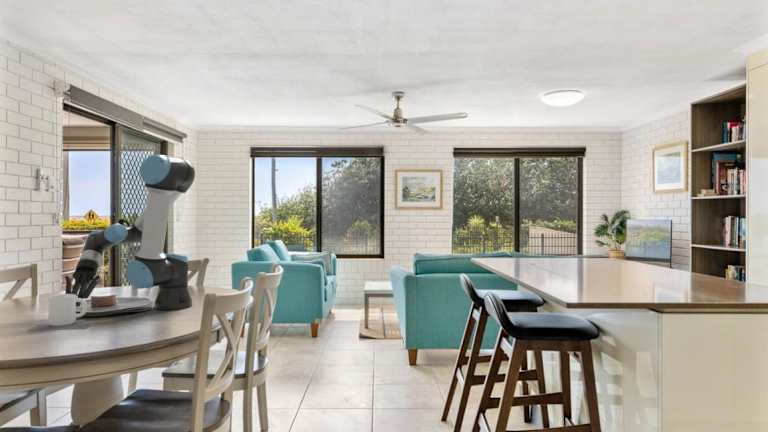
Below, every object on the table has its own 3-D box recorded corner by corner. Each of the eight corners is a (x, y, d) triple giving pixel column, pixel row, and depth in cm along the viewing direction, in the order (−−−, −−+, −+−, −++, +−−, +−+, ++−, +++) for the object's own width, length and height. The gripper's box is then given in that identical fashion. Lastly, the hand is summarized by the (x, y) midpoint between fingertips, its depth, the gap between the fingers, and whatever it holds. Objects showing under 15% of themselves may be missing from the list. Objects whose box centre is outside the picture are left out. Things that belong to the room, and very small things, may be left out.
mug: (86, 318, 184) (86, 291, 184) (88, 322, 178) (88, 295, 177) (48, 322, 177) (48, 295, 177) (49, 327, 170) (49, 299, 170)
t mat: (101, 320, 183) (101, 319, 183) (86, 329, 170) (86, 328, 170) (46, 322, 180) (46, 321, 180) (26, 332, 166) (26, 330, 166)
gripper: (108, 268, 201) (92, 317, 185) (74, 269, 199) (55, 319, 183) (103, 257, 195) (86, 307, 180) (68, 258, 193) (47, 308, 177)
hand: (70, 313), depth 181 cm, fingers closed
